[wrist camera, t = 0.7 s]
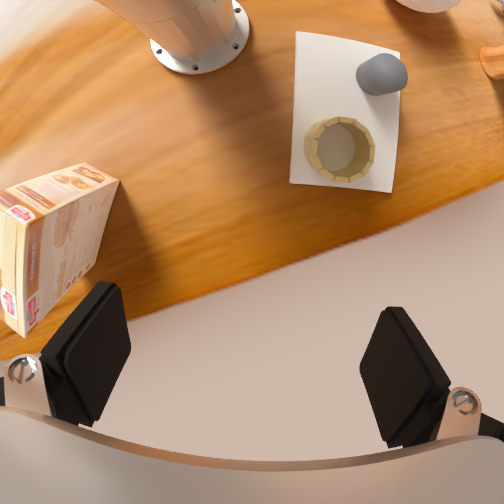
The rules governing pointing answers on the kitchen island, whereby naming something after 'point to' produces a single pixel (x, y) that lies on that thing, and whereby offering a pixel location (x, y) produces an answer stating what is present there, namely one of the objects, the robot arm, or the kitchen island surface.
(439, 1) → the cup
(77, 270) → the coffeecake box
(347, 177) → the brass ring
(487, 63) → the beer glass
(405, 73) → the stand
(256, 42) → the kitchen island surface
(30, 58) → the kitchen island surface
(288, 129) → the kitchen island surface
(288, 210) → the kitchen island surface
